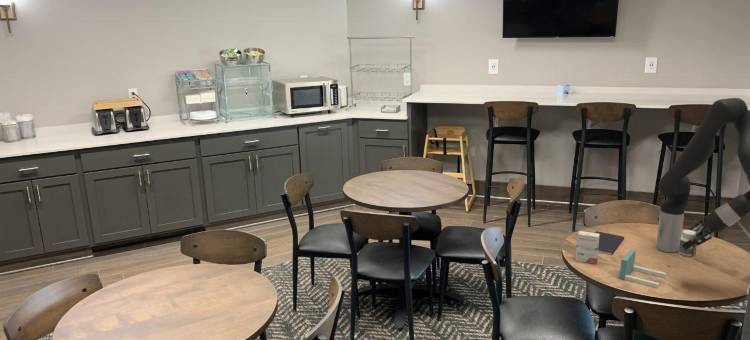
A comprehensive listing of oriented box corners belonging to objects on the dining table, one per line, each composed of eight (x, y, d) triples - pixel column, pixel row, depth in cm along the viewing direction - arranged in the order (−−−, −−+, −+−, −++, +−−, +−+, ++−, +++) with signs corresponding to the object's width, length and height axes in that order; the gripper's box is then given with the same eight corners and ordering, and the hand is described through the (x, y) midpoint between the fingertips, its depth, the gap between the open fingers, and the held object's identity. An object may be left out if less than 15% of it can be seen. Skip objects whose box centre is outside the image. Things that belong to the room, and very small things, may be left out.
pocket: (665, 276, 234) (668, 257, 232) (657, 288, 225) (660, 268, 223) (628, 267, 242) (630, 249, 240) (619, 278, 233) (621, 259, 231)
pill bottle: (696, 260, 222) (700, 235, 219) (680, 259, 223) (683, 234, 220) (692, 254, 227) (696, 229, 224) (676, 252, 228) (679, 228, 225)
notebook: (611, 256, 254) (624, 239, 270) (612, 253, 253) (624, 236, 270) (581, 249, 261) (595, 234, 278) (582, 246, 260) (595, 230, 277)
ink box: (597, 259, 250) (600, 233, 247) (596, 264, 246) (599, 237, 242) (576, 256, 254) (578, 230, 250) (574, 260, 249) (576, 234, 246)
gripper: (712, 203, 223) (673, 230, 231) (719, 217, 210) (677, 244, 218) (726, 218, 223) (687, 244, 231) (734, 232, 210) (692, 259, 218)
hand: (682, 244), depth 224 cm, fingers closed on pill bottle, 5 cm apart
